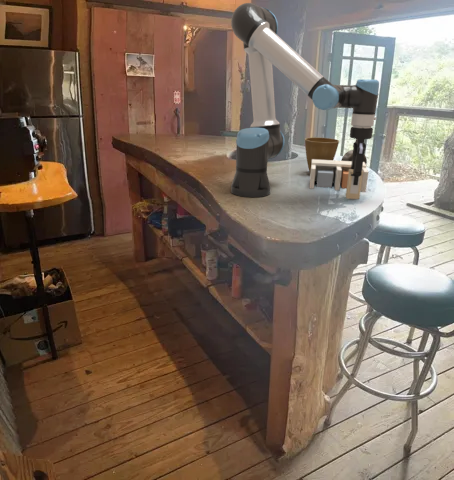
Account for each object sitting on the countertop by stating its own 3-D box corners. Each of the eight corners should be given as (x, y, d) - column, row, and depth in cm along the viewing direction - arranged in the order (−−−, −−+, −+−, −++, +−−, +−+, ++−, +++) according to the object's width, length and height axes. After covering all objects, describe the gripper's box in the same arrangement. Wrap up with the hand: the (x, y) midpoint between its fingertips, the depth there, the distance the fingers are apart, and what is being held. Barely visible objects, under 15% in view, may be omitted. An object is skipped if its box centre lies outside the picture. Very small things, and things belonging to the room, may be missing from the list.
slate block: (316, 186, 164) (318, 172, 162) (316, 183, 170) (317, 169, 167) (331, 187, 163) (333, 173, 161) (331, 184, 169) (332, 170, 166)
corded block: (344, 198, 148) (347, 171, 145) (340, 184, 168) (343, 160, 164) (361, 199, 147) (365, 172, 144) (355, 185, 167) (359, 161, 163)
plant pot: (295, 174, 185) (298, 139, 179) (313, 170, 195) (316, 136, 189) (324, 180, 175) (328, 142, 169) (340, 175, 185) (345, 139, 179)
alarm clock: (359, 175, 185) (364, 139, 179) (366, 178, 180) (371, 141, 174) (338, 176, 183) (342, 140, 177) (344, 179, 178) (349, 141, 172)
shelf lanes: (309, 188, 161) (311, 166, 158) (309, 179, 175) (311, 159, 172) (365, 192, 157) (369, 169, 154) (361, 183, 171) (364, 161, 168)
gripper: (376, 129, 132) (366, 198, 141) (369, 124, 148) (361, 186, 157) (353, 128, 133) (344, 197, 142) (348, 123, 149) (341, 185, 158)
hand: (353, 191), depth 149 cm, fingers closed on corded block, 4 cm apart
